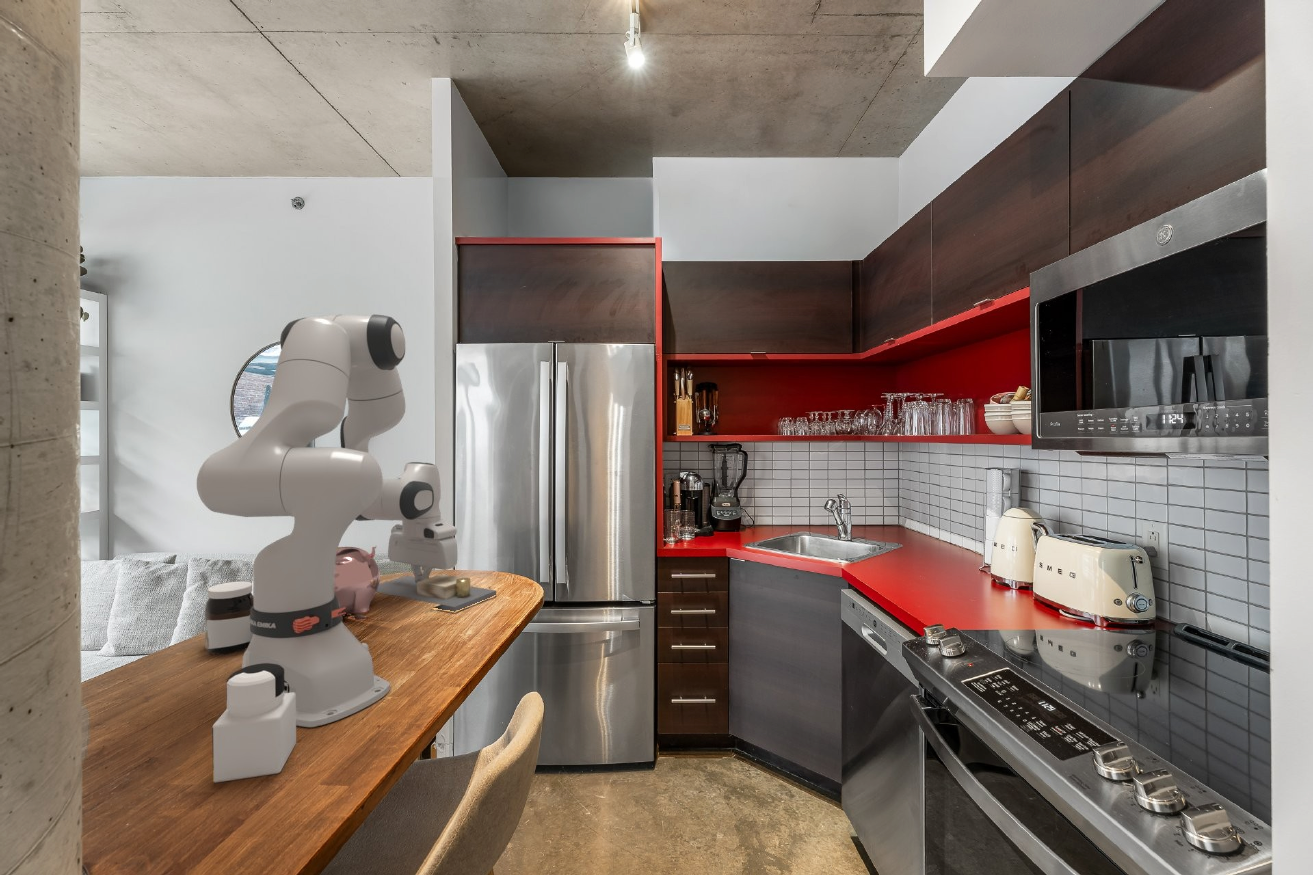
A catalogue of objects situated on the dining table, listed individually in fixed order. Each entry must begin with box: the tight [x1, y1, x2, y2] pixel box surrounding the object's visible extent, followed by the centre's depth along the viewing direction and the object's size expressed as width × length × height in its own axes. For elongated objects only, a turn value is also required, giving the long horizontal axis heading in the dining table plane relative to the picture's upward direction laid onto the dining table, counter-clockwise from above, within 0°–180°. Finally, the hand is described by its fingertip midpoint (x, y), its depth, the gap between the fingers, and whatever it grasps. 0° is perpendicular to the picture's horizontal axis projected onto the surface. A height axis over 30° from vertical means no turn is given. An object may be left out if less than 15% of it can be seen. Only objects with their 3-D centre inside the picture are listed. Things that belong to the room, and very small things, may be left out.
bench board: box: [376, 575, 497, 612], centre depth 144 cm, size 30×14×2 cm, turn 65°
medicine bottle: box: [211, 663, 297, 783], centre depth 74 cm, size 7×7×12 cm
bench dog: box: [456, 577, 471, 598], centre depth 139 cm, size 3×3×4 cm
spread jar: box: [204, 581, 254, 655], centre depth 111 cm, size 12×11×12 cm
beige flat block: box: [417, 573, 465, 600], centre depth 142 cm, size 9×8×3 cm
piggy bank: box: [334, 546, 381, 621], centre depth 129 cm, size 15×18×16 cm
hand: (421, 582), depth 145 cm, fingers closed
